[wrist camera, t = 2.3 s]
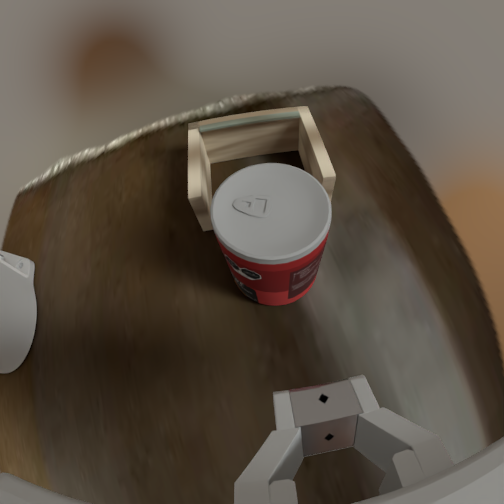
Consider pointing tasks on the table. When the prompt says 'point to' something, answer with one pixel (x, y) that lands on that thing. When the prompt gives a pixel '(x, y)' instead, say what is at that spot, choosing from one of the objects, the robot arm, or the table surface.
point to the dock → (252, 149)
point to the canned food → (272, 230)
